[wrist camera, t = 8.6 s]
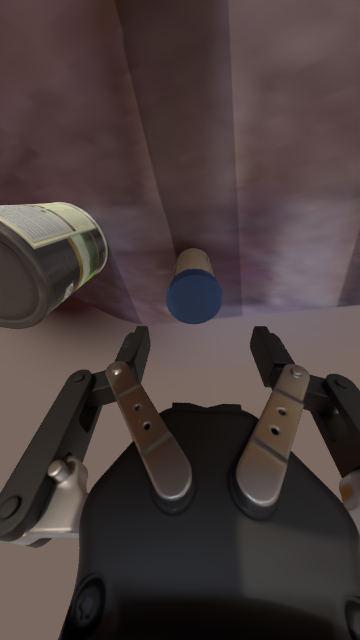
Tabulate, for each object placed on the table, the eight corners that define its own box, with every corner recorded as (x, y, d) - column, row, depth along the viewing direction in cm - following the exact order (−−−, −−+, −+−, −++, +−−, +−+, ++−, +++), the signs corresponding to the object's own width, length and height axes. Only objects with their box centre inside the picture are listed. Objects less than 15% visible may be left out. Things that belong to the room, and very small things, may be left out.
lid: (216, 315, 22) (219, 324, 20) (169, 314, 22) (167, 323, 21) (222, 268, 19) (225, 274, 17) (166, 268, 19) (164, 274, 17)
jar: (168, 260, 27) (158, 290, 19) (200, 240, 26) (205, 263, 17) (186, 288, 30) (185, 327, 21) (216, 272, 28) (228, 307, 19)
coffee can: (122, 260, 28) (74, 306, 16) (72, 286, 31) (1, 342, 19) (73, 184, 23) (-50, 172, 11) (19, 224, 25) (-124, 248, 14)
